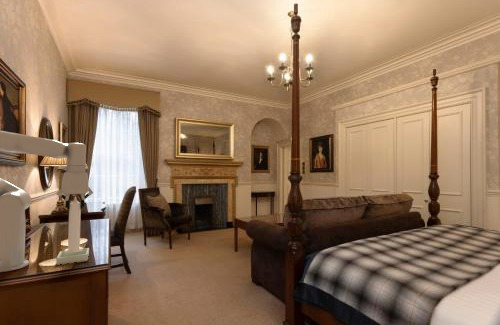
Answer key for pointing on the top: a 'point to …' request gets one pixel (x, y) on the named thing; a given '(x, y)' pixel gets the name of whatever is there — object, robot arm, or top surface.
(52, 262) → the top surface
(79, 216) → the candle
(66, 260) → the tray
